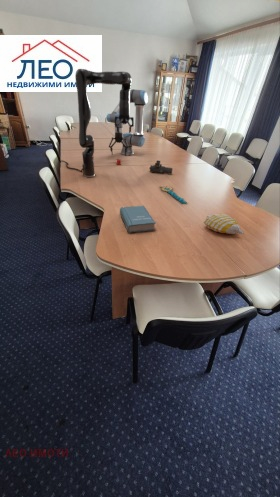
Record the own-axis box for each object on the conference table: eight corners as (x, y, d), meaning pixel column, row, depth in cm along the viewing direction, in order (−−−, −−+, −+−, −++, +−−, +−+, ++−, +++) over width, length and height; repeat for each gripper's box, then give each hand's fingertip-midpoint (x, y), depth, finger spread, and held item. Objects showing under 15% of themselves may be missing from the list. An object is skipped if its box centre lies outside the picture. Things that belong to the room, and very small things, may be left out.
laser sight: (171, 175, 213) (172, 165, 207) (148, 172, 216) (149, 162, 210) (172, 172, 221) (173, 162, 215) (150, 169, 224) (150, 159, 218)
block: (116, 164, 232) (116, 160, 229) (116, 163, 235) (116, 159, 232) (120, 165, 232) (120, 160, 229) (120, 163, 235) (120, 159, 233)
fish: (254, 225, 128) (232, 232, 118) (249, 236, 132) (228, 244, 123) (221, 208, 144) (199, 213, 134) (217, 218, 149) (196, 224, 139)
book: (154, 230, 131) (155, 222, 128) (128, 232, 126) (128, 225, 124) (143, 212, 148) (143, 205, 145) (119, 214, 144) (120, 207, 141)
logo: (159, 187, 187) (159, 186, 186) (169, 186, 189) (169, 185, 189) (175, 204, 161) (175, 203, 161) (187, 203, 164) (187, 202, 163)
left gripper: (114, 107, 155) (114, 132, 165) (134, 108, 156) (133, 133, 166) (114, 106, 161) (114, 131, 171) (134, 107, 162) (133, 132, 172)
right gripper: (105, 132, 212) (106, 155, 224) (131, 133, 214) (130, 156, 226) (106, 130, 218) (106, 153, 230) (131, 132, 220) (130, 154, 232)
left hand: (124, 132), depth 168 cm, fingers open, 8 cm apart
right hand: (118, 155), depth 228 cm, fingers open, 13 cm apart
